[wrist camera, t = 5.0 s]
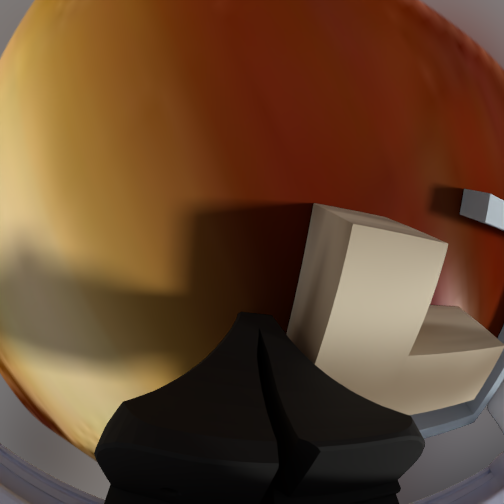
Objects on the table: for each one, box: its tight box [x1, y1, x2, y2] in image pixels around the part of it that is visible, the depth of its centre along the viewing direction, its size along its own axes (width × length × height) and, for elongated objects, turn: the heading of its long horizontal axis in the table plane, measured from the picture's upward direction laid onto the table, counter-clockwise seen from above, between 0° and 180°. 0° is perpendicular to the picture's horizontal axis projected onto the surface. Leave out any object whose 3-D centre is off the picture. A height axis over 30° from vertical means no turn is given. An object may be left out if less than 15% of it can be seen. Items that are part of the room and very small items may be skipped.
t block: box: [286, 203, 504, 415], centre depth 9 cm, size 10×9×4 cm
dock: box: [410, 189, 504, 439], centre depth 11 cm, size 14×9×2 cm, turn 171°
